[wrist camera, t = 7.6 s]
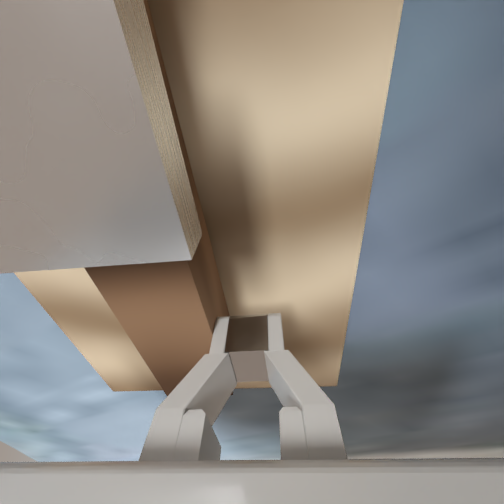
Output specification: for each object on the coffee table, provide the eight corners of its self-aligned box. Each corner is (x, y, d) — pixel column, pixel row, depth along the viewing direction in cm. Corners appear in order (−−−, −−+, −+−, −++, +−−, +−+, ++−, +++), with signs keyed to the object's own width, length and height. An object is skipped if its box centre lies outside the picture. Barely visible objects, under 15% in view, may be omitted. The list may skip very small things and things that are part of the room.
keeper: (-70, 11, 6) (-589, -112, 2) (184, -32, 5) (26, -286, 2) (47, 201, 9) (-107, 281, 5) (222, 184, 8) (191, 259, 5)
